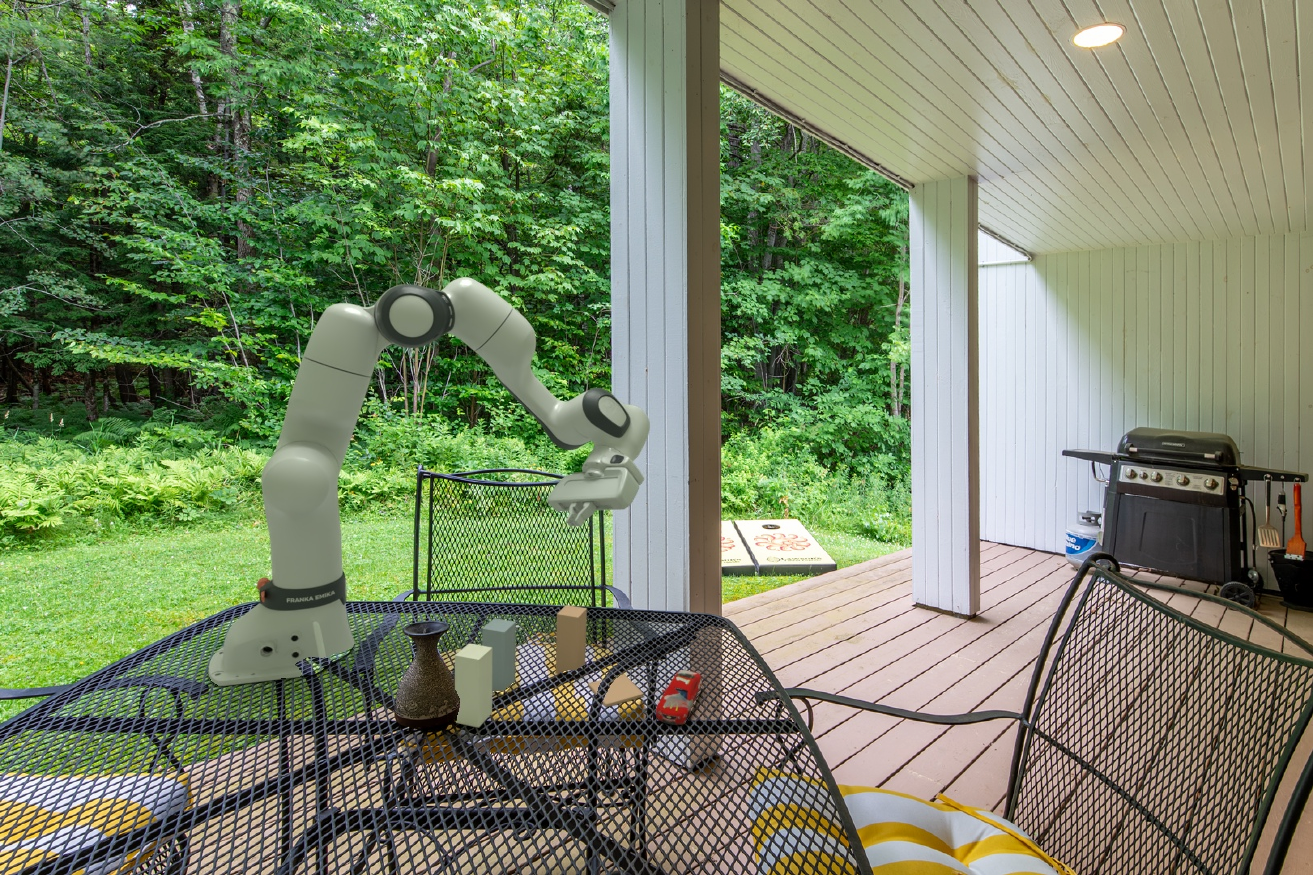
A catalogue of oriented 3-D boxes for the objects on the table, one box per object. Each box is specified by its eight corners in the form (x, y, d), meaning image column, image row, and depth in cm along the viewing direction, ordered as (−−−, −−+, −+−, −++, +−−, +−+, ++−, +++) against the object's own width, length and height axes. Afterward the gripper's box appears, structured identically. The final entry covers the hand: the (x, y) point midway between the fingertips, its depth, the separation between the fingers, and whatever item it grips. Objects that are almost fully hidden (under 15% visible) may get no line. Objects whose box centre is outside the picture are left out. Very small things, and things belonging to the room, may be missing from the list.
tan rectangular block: (576, 676, 111) (578, 617, 110) (555, 672, 112) (556, 614, 111) (585, 665, 115) (586, 608, 113) (564, 661, 116) (565, 605, 114)
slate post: (503, 694, 105) (504, 632, 103) (482, 690, 106) (482, 628, 104) (515, 682, 109) (515, 621, 107) (494, 678, 110) (494, 618, 108)
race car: (683, 732, 97) (685, 709, 97) (650, 724, 99) (651, 700, 99) (706, 689, 110) (708, 667, 109) (677, 682, 112) (678, 661, 111)
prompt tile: (605, 707, 103) (605, 704, 102) (587, 686, 108) (588, 683, 108) (643, 696, 106) (643, 693, 106) (624, 676, 112) (624, 674, 112)
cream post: (478, 727, 96) (478, 659, 94) (455, 722, 97) (454, 655, 95) (491, 713, 100) (492, 647, 98) (469, 708, 101) (469, 643, 99)
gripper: (560, 463, 133) (527, 514, 125) (634, 456, 121) (602, 512, 112) (577, 483, 137) (545, 534, 128) (651, 478, 124) (621, 534, 116)
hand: (573, 524), depth 120 cm, fingers closed
